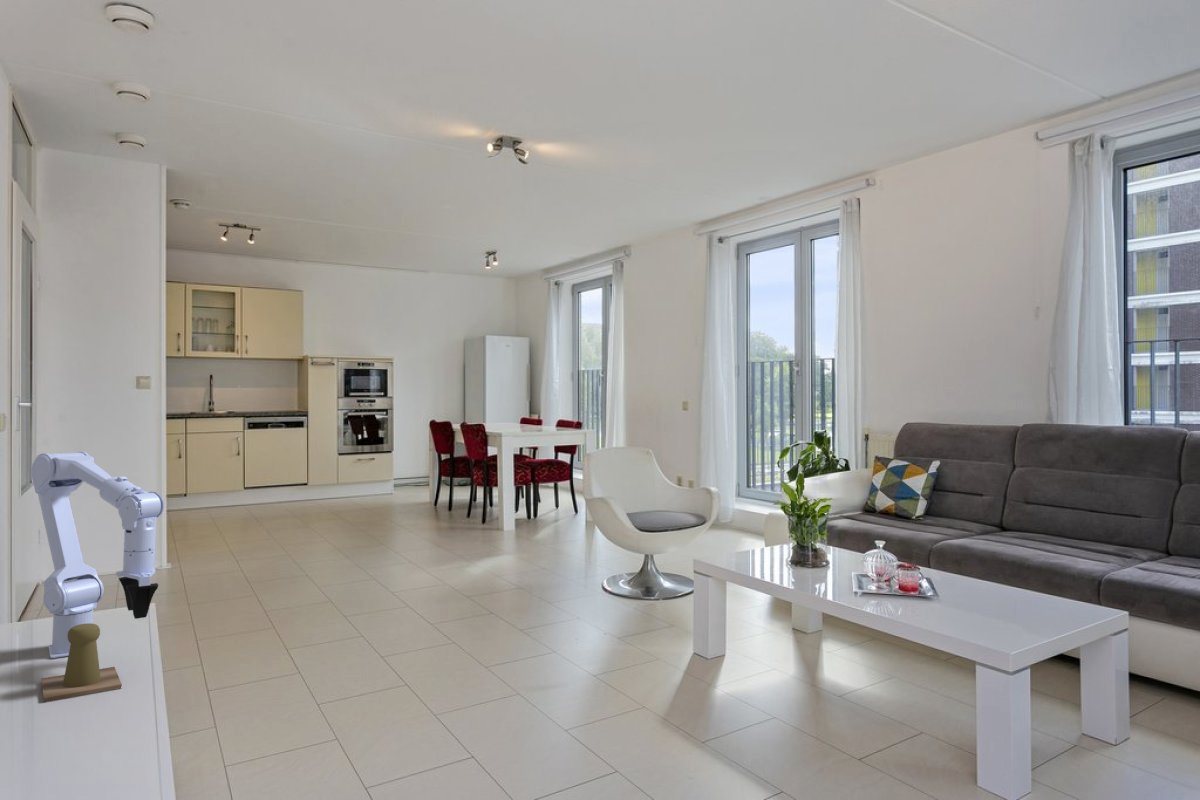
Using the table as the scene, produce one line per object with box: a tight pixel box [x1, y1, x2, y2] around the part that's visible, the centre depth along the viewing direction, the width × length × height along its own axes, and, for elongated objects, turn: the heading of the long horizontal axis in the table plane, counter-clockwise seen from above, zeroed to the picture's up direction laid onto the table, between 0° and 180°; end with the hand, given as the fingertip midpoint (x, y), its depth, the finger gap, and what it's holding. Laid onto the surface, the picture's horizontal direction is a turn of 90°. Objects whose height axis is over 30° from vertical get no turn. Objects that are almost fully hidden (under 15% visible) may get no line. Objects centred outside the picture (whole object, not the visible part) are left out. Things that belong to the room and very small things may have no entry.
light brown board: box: [40, 666, 123, 703], centre depth 142 cm, size 12×12×1 cm
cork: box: [63, 623, 101, 687], centre depth 142 cm, size 6×6×11 cm
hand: (137, 613), depth 156 cm, fingers open, 7 cm apart
